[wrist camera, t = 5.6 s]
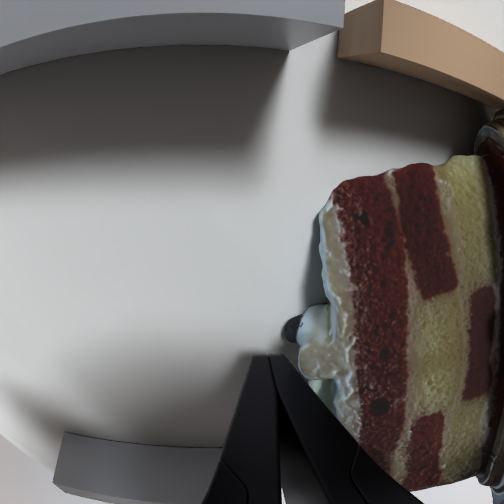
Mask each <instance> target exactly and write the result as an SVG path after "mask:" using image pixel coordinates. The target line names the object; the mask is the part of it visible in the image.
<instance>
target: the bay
mask: <svg viewBox="0 0 504 504" xmlns="http://www.w3.org/2000/svg"><path fill="white" fill-rule="evenodd" d="M344 11H345V0H0V74H4V73H7V72H10V71H13V70H17V69H20V68H24V67H28V66H31V65H35V64H39V63H43V62H48V61H52V60H57V59H61V58H66V57H71V56H77V55H82V54H88V53H95V52H101V51H109V50H117V49H126V48H136V47H148V46H164V45H234V46H251V47H263V48H274V49H283V50H292V49H294V48H296V47H299V46H301V45H303V44H306V43H308V42H310V41H313V40H315V39H317V38H320V37H322V36H325V35H327V34H330V33H332V32H335V31H337V30H340V29H343V26H344ZM221 451H222V448H184V447H166V446H152V445H142V444H132V443H124V442H116V441H109V440H103V439H97V438H91V437H85V436H80V435H75V434H70V433H65V432H64V436H63V440H62V444H61V448H60V452H59V456H58V460H57V464H56V469H55V474H54V478H53V483H54V484H55V485H56V486H58V487H59V488H60V489H61V490H63V491H64V492H65V493H69V494H73V495H77V496H81V497H85V498H90V499H95V500H99V501H104V502H109V503H115V504H201V502H202V500H203V498H204V496H205V494H206V492H207V490H208V487H209V485H210V482H211V480H212V477H213V475H214V472H215V469H216V466H217V463H218V461H219V457H220V454H221Z"/></svg>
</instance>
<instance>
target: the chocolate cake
mask: <svg viewBox="0 0 504 504" xmlns="http://www.w3.org/2000/svg"><path fill="white" fill-rule="evenodd" d="M319 224H320V239H321V240H320V244H319V253H320V256H321V260H322V264H323V268H322V273H321V276H322V279H323V286H324V291H325V294H326V296H327V298H328V299H329V301H330V303H328V304H325V305H319V304H317V305H313V306H310V307H309V308H308V309H307V310H306V312H305V313H303V314H301V315H299V316H296V317H294V318H292V319H291V320H289V322H288V324H287V326H286V330H285V337H286V339H287V340H288V341H289V342H292V343H297V344H299V345H300V347H301V348H300V349H299V355H298V364H297V365H298V369H299V371H300V373H301V375H302V376H303V377H305V378H306V379H308V385H309V386H310V387H311V388H312V389H313V391H314V392H315V393H316V394H317V395H318V397H319V398H320V399H321V400H322V401H323V402H324V404H325V405H326V406H327V407H328V408H329V409H330V411H331V412H332V413H333V414H334V415H335V416H336V418H337V419H338V420H339V421H340V422H341V423H342V425H343V426H344V427H345V428H346V429H347V430H348V431H349V433H350V434H351V435H352V436H353V437H354V438H355V439H356V441H357V442H358V443H359V445H361V446H362V447H363V448H364V450H365V451H366V452H367V453H368V454H369V455H370V456H371V457H372V458H373V459H374V460H375V462H376V463H377V464H378V465H379V466H380V467H381V468H382V469H383V470H384V471H386V472H387V473H388V474H389V475H390V476H391V477H392V478H393V479H395V480H396V481H397V482H398V483H399V484H400V485H402V486H403V487H404V488H405V489H407V490H408V491H409V492H411V491H418V490H423V489H427V488H431V487H435V486H441V485H446V484H452V483H455V482H457V481H461V480H465V479H467V478H470V477H473V476H476V477H477V478H478V481H479V483H480V484H482V485H485V486H490V488H491V491H492V497H493V504H501V503H502V504H504V109H502V108H501V109H500V110H495V114H494V115H493V116H492V121H490V122H487V123H485V124H483V126H482V128H481V129H480V130H479V133H478V135H477V137H476V139H475V143H474V155H470V156H464V155H455V156H452V157H451V158H450V159H449V160H447V162H446V163H444V164H442V165H438V166H432V165H430V164H427V163H416V164H410V165H407V166H406V167H404V168H401V169H390V170H388V171H386V172H384V173H382V174H379V175H377V176H363V177H357V178H354V179H350V180H346V181H343V182H342V183H341V184H340V185H339V186H338V187H336V188H335V189H334V190H333V191H332V193H331V195H330V197H329V199H328V202H327V204H326V206H325V207H324V208H323V209H322V210H321V212H320V213H319Z"/></svg>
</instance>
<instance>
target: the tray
mask: <svg viewBox="0 0 504 504" xmlns="http://www.w3.org/2000/svg"><path fill="white" fill-rule="evenodd" d="M337 58H340V59H345V60H350V61H355V62H359V63H364V64H368V65H372V66H376V67H380V68H384V69H388V70H391V71H395V72H398V73H402V74H405V75H409V76H412V77H415V78H418V79H421V80H424V81H427V82H430V83H433V84H436V85H439V86H442V87H444V88H447V89H450V90H452V91H455V92H458V93H460V94H463V95H465V96H468V97H470V98H472V99H475V100H477V101H479V102H482V103H484V104H486V105H488V106H491V107H493V108H495V109H497V110H500V109H501V108H502V109H504V53H503V52H502V51H500V50H498V49H497V48H495V47H493V46H492V45H490V44H488V43H487V42H485V41H483V40H481V39H479V38H478V37H476V36H474V35H472V34H470V33H468V32H466V31H465V30H463V29H461V28H459V27H457V26H455V25H453V24H450V23H448V22H446V21H444V20H442V19H440V18H438V17H435V16H433V15H431V14H428V13H426V12H424V11H421V10H419V9H416V8H414V7H411V6H409V5H406V4H403V3H400V2H398V1H395V0H375V1H373V2H370V3H368V4H366V5H363V6H361V7H359V8H357V9H354V10H352V11H350V12H348V13H346V14H344V26H343V29H340V30H339V42H338V54H337ZM281 488H282V485H281Z"/></svg>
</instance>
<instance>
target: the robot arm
mask: <svg viewBox="0 0 504 504" xmlns="http://www.w3.org/2000/svg"><path fill="white" fill-rule="evenodd" d="M281 485H282V489H283V493H284V497H285V502H286V504H424V503H423V502H421V501H420V500H419V499H417V498H416V497H415V496H414V495H413V494H411V493H410V492H409V491H408V490H407V489H405V488H404V487H403V486H402V485H400V484H399V483H398V482H397V481H396V480H395V479H393V478H392V477H391V476H390V475H389V474H388V473H387V472H386V471H384V470H383V469H382V468H381V467H380V466H379V465H378V464H377V463H376V462H375V460H374V459H373V458H372V457H371V456H370V455H369V454H368V453H367V452H366V451H365V450H364V448H363V447H362V446H361V445H359V443H358V442H357V441H356V439H355V438H354V437H353V436H352V435H351V434H350V433H349V431H348V430H347V429H346V428H345V427H344V426H343V425H342V423H341V422H340V421H339V420H338V419H337V418H336V416H335V415H334V414H333V413H332V412H331V411H330V409H329V408H328V407H327V406H326V405H325V404H324V402H323V401H322V400H321V399H320V398H319V397H318V395H317V394H316V393H315V392H314V391H313V389H312V388H311V387H310V386H309V385H308V383H307V382H306V381H305V380H304V379H303V377H302V376H301V375H300V374H299V373H298V371H297V370H296V369H295V368H294V367H293V365H292V364H291V363H290V362H289V360H288V359H287V358H286V357H285V356H284V355H283V354H269V355H266V354H255V355H253V356H252V358H251V361H250V364H249V367H248V370H247V374H246V377H245V380H244V383H243V386H242V390H241V393H240V396H239V399H238V402H237V405H236V408H235V412H234V415H233V418H232V421H231V424H230V427H229V430H228V433H227V436H226V439H225V442H224V445H223V448H222V451H221V454H220V457H219V461H218V463H217V466H216V469H215V472H214V475H213V477H212V480H211V482H210V485H209V487H208V490H207V492H206V494H205V496H204V498H203V500H202V502H201V504H282V497H281ZM501 504H502V503H501Z"/></svg>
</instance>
